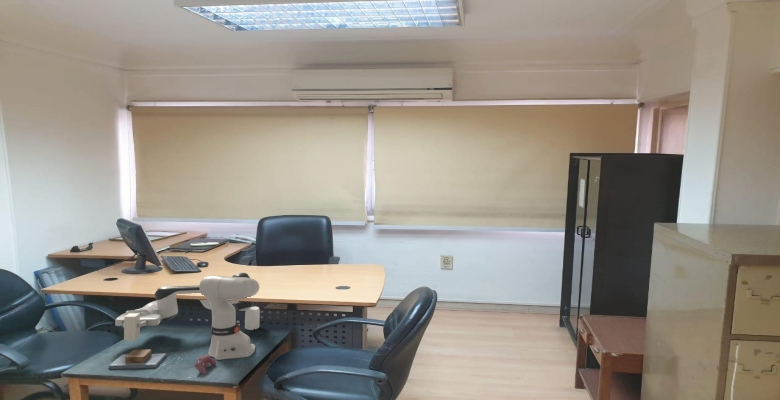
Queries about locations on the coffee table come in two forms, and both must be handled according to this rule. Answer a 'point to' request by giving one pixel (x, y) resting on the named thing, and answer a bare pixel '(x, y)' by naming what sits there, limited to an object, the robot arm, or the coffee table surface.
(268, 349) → the coffee table surface
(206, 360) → the video game controller
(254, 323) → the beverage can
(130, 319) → the cream pillar
